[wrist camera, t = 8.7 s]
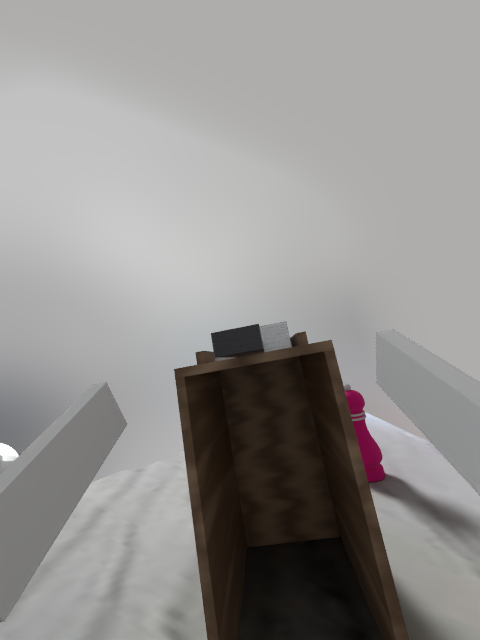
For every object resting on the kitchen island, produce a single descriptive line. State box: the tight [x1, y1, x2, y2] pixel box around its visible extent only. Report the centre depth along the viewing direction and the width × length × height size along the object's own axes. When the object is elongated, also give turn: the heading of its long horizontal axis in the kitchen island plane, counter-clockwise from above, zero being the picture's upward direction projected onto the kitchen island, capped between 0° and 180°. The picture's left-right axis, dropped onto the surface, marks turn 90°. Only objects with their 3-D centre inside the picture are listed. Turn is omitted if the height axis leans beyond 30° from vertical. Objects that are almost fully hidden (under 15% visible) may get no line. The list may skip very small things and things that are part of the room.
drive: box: [211, 321, 292, 361], centre depth 28 cm, size 10×30×4 cm, turn 173°
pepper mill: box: [343, 384, 385, 482], centre depth 52 cm, size 7×7×20 cm
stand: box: [174, 332, 409, 640], centre depth 31 cm, size 17×20×32 cm
